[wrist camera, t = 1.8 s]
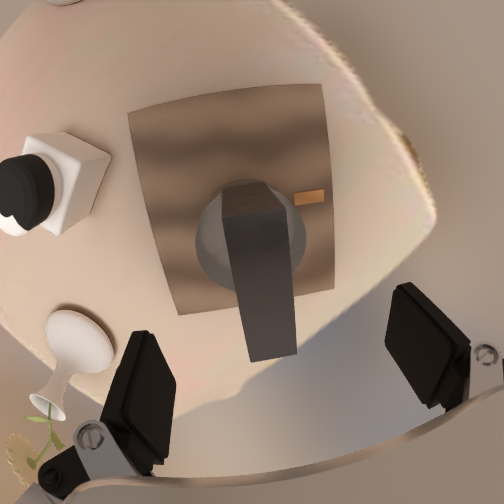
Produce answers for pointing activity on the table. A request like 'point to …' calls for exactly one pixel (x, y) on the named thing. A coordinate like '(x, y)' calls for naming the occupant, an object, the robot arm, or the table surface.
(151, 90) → the table surface
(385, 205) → the table surface
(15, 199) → the medicine bottle
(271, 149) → the brown wooden board
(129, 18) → the table surface
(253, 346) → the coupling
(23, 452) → the flower in vase
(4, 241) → the table surface
